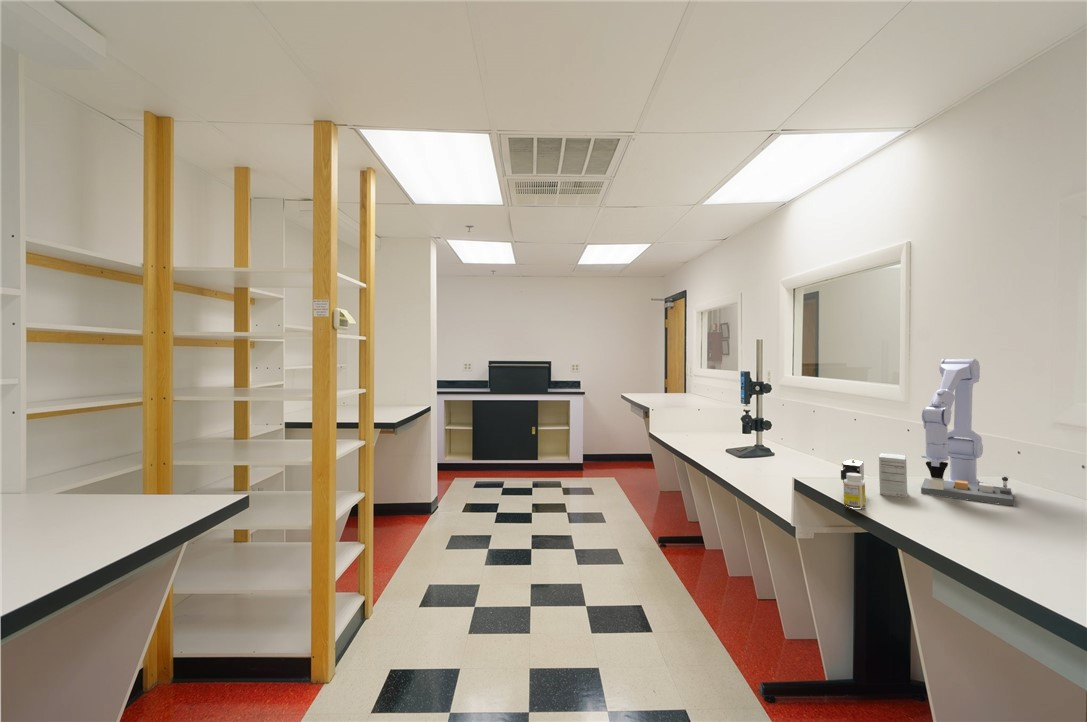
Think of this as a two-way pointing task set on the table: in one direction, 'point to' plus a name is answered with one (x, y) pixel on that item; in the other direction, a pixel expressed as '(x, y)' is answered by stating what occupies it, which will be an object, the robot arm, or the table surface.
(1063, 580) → the table surface
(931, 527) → the table surface
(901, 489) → the supplement box
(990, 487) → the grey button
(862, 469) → the pneumatic valve
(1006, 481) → the toggle lever
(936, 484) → the block
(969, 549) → the table surface
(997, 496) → the control panel
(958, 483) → the orange button
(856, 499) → the supplement bottle
